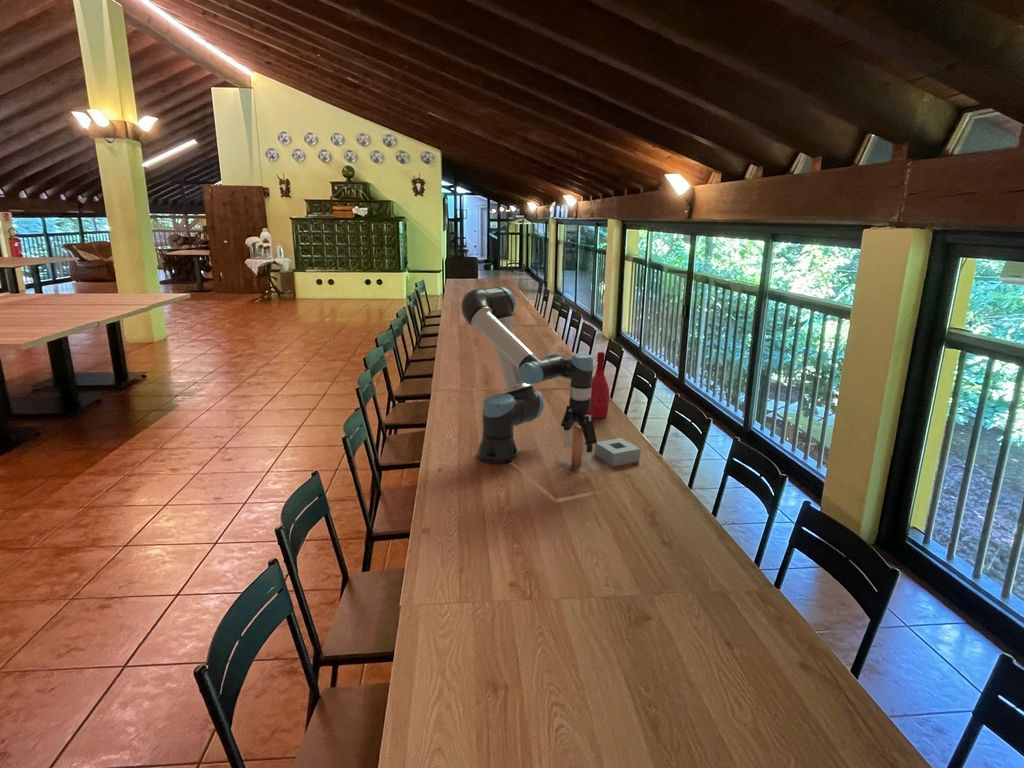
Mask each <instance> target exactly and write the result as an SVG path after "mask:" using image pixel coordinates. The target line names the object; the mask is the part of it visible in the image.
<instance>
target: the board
mask: <svg viewBox="0 0 1024 768" xmlns="http://www.w3.org/2000/svg"><path fill="white" fill-rule="evenodd" d="M571 461H572V458H567V459H562V460H556V461H554V464H556V465H557V466H558V467H560V468H561V469H562V470H564V471H565V472H567V473H568V474H569V475H576V474H582V473H585V472H591V471H596V470H602V469H607V468H612V467H614V466H611V465H610V464H608V463H607V462H605V461H604V460H602V459H601V458H599V457H598V456H596V455H594V454H591V460H587V461H584V455H582V460H581V467H573V466H571ZM630 464H631V465H632V466H635V465H639V464H640V460H639V461H638V462H633V463H630ZM618 466H619V465H617V466H616V467H618Z"/></svg>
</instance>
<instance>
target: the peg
mask: <svg viewBox="0 0 1024 768" xmlns="http://www.w3.org/2000/svg"><path fill="white" fill-rule="evenodd" d="M572 429H573V430H572V444H571V459H572V461H571V466H573V467H581V460H582V457H583V444H584V443H583V441H584V434H583V431H582V428H581V427H580V426H579V424H577V425H575V424H574V425H573V427H572Z"/></svg>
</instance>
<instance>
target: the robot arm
mask: <svg viewBox="0 0 1024 768" xmlns="http://www.w3.org/2000/svg"><path fill="white" fill-rule="evenodd" d="M516 303H517V302H516V299H515V296H514V294H513V293H512V291H510V290H509V289H508V288H506V287H503V286H493V287H483V288H475V289H471V290H469V291H468V292H467V293H466V294H465V295H464V297H463V298H462V301H461V304H460V305H461V306H460V309H461V313H462V316H463V318H464V319H465V321H466V322H467V323H468V324H469V325H470V326H471V328H473V329H478V330H479V331H480V333H482V334H483V335H484V336H485V337H486V339H488V340H489V341H490V342H491V344H493V345H494V348H495V352H496V356H497V359H498V362H499V366H500V370H501V373H502V378H503V381H504V383H505V389H504V391H503V393H494V394H491V395H489V396H487V397H486V398H485V399H484V400H483V405H482V437H481V440H480V442H479V445H478V449H477V458H478V459H479V460H480V461H482V462H485V463H488V464H498V465H501V464H508V463H511V462H513V460H514V459H516V458H517V457H518V448H517V445H516V441H515V438H514V433H515V432H514V430H515V429H514V427H517V426H519V425H522V424H525V423H529V422H533V421H534V420H536V419H538V418H539V417H540V416H541V415H542V413H543V411H544V410H543V409H544V406H545V405H544V399H543V396H542V394H541V393H540V392H539V391H538V390H536V389H534V386H533V385H535V384H539V383H542V382H545V381H548V380H553V379H556V378H564V379H569V380H570V385H569V386H570V387H569V396H570V398H569V403H568V404H569V405H566V409H565V410H566V411H565V413H564V415H563V418H562V421H561V423H560V426H561V428H563V430H564V431H563V433H564V434H563V447H564V448H570V447H572V438H573V430H572V429H573V427H574V426H575V423H577V425H579V426H580V427H581V428H582V431H583V438H584V441H585V442H584V446H583V447H584V448H583V456H584V461H587V460H591V455H593V454H592V452H593V445H595V443H597V442H598V441H597V435H596V430H595V425H594V418H593V416H592V415H590V416H589V415H588V413H587V411H588V410H589V409H590V406H591V399H590V397H591V387H592V379H593V374H594V373H593V372H594V358H593V355H591V354H588V353H583V352H582V353H574V354H573V355H572V356H571V357H569V356H567V355H565V356H564V355H561V354H558V353H548V354H546V356H544V358H542V359H539V357H538V356H536V355H535V353H534V352H533V351H531V349H530V348H528V347H527V346H526V345H525V344H524V343H523V342H522V341H521V340H520V339H519V338H518V337H517V336H515V332H514V328H513V325H512V321H513V320H514V314H513V313H514V312H515V310H516V308H515V307H516V306H517V305H516Z"/></svg>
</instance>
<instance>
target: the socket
mask: <svg viewBox="0 0 1024 768" xmlns="http://www.w3.org/2000/svg"><path fill="white" fill-rule="evenodd" d="M593 455H596V456H598V457H599V458H601V459H602V460H604V461H605V462H607V463H608V464H610V465H611V466H613V467H618V466H622V465H627V464H631V463H633V462H638V461H639V462H640V456H641V448H639V447H638V446H636V445H634V444H633V443H630V442H629V441H627V440H626V439H624V438H622V437H620V438H613V439H606V440H603V441H597V443H594V454H593ZM617 465H618V466H617Z"/></svg>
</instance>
